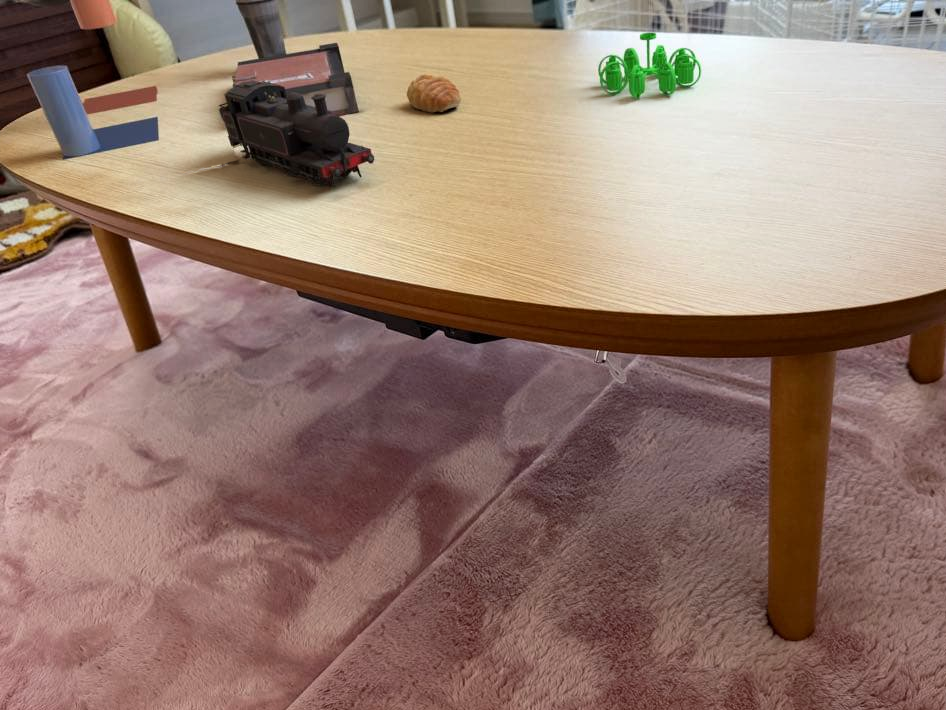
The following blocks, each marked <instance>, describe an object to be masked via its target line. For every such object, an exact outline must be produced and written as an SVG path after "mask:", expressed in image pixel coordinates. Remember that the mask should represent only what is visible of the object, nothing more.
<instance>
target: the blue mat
mask: <svg viewBox="0 0 946 710" xmlns="http://www.w3.org/2000/svg"><path fill="white" fill-rule="evenodd" d="M93 130H94V132H95V134H96V137H97V139H98V142H99V144H100V149H98V150H97V151H95V152H92V153H90V154H86V155H82V156H77V157H65V156H64V155H63V156H62V161H65V160H70V159H73V158H74V159H75V158H81V157H84V156H91V155H94V154H99V153H104V152H108V151H113V150H118V149H125V148H129V147H134V146H137V145H142V144H147V143H152V142H153V143H154V142H158V141H160V134H159V132H160V131H159V117H158V116H154V117H149V118H144V119H139V120H134V121H129V122H124V123H123V122H122V123H118V124H114V125H108V126H105V127H104V126H103V127H99V128H93Z"/></svg>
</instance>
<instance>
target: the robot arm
mask: <svg viewBox="0 0 946 710" xmlns="http://www.w3.org/2000/svg"><path fill="white" fill-rule="evenodd" d="M16 3H25V4H29V5H32V6H40V7H52V8H62V7H65V6H66V5H67V6H68V4H71V2H70V0H0V8H1V7H5V6H10V5H12V4H16Z"/></svg>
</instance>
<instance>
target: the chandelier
mask: <svg viewBox="0 0 946 710" xmlns="http://www.w3.org/2000/svg"><path fill="white" fill-rule="evenodd" d="M655 39H657V33H656V32H643V33H641V34H640V35H639V40H641V41H646V63H647V64H646V67H643V66H642V65H641V64H640V58H639V55H638V52H637V50H635V48H633V47H629V48H625V50H624V53H623V58H622V57H621V56H620V55H617V54H608V55H606V56H604V57H603V58H602V59H601V60H600V62H599V64H598V68H597V71H598V76H599V84H600V87H601V89H602V90H603V91H604V92H605V93H607V94H608V95H618V94H620V93H622V92H623V91H624V90H625V88H626V87H627V86H628V92H629V94H630V95H631V97H632V98H633V99H639V98H640V97H641V95H643V94H645V92H646V77H645V76H654V75H655V77H657V80H658V90H659V91H660V92H662V94H663V95H664V96H666V97H667V96H672V95H674V93H675V91H676V88H677V86H678V87H680V88H684V89H685V88H687V89H688V88H690V87H693V86H695V84H697V83H698V81H699V80H700V78H701V75H702V66H701V63H700V61H699V60H698V59H697V58H696V55H695V53H694V51H692V50H691V49H690V48H687V47H680V48H678V49H675V51H674V52H672V54H671V55H670V57H669V60H668V55H667V51H666V50H665V49H666V48H665V47H664V45H663V44H658V45H656V47H655V51H653V52H652V57H651V54H650V53H651V51H650V47H651V46H650V41H652V40H655ZM686 51H688V52H689V53H690V54H691V55H690V54H689V53H686ZM606 59H608V60H607V61H605V60H606ZM673 59H674V60H673ZM690 59H691V60H690ZM604 61H605V66H604V67H603V68H602V64H603V62H604ZM696 65H697V68H698V76H697V79H696V80H694V78H695V77H694V76H695V68H696ZM621 67H622V68H623V73H624V76H623V73H622V69H621ZM604 75H605V78H604ZM623 82H624V83H623ZM604 84H605V85H606V88H607V89H606V88H605V86H604Z"/></svg>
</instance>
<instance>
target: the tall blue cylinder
mask: <svg viewBox="0 0 946 710" xmlns="http://www.w3.org/2000/svg"><path fill="white" fill-rule="evenodd" d="M26 76H27V79H28V80H29V83H30V85H31V87H32V89H33V91H34V94H35V96H36V98H37V100H38V102H39V103H38V104H39V105H40V107H41V109H42V111H43V114H44V116H45V118H46V120H47V123H48V124H49V127H50V129H51V131H52V133H53V136H54V138H55V140H56V143H57V145H58V146H59V147H58V148H59V149H60V152H61V153H62V155H63V156H65V157H75V158H78V157H77V156H80V157H83V156H82V155H85V156H87V155H86V154H90V153H92V152H95V151H97V150H98V149H100V144H99V142H98V139H97V137H96V134H95V132H94V130H93V129H94V128H93V125H92V123H91V121H90V118H89V114H87V113H86V111H85V108H84V106H83V105H84V103H83V101H82V99H81V97H80V94H79V92H78V89H77V87H76V85H75V82H74V80H73V78H72V76H71V73H70V71H69V67H68V66H67V65H52V66H47V67H42V68H38V69H34V70H31V71H30V72H28V73H27V74H26ZM90 155H91V154H90Z"/></svg>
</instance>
